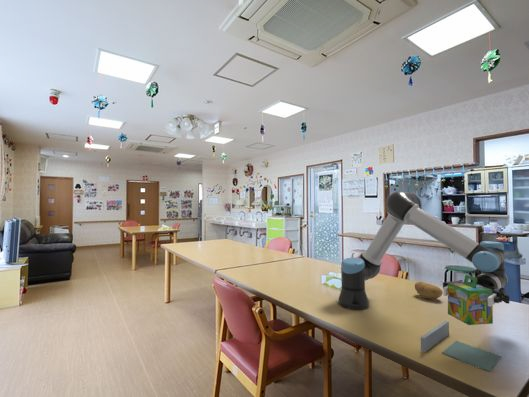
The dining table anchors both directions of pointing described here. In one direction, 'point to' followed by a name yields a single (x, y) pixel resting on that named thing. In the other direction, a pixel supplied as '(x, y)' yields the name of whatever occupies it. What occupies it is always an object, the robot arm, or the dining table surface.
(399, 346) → the dining table surface
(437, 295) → the potato
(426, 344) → the low wall
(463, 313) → the chalk box
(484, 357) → the mat
